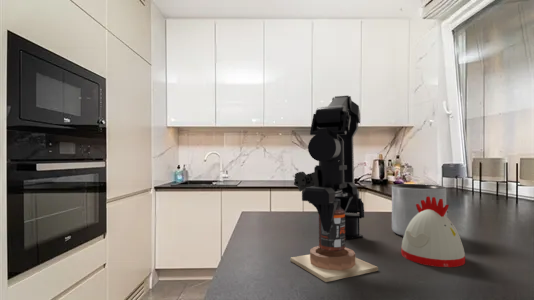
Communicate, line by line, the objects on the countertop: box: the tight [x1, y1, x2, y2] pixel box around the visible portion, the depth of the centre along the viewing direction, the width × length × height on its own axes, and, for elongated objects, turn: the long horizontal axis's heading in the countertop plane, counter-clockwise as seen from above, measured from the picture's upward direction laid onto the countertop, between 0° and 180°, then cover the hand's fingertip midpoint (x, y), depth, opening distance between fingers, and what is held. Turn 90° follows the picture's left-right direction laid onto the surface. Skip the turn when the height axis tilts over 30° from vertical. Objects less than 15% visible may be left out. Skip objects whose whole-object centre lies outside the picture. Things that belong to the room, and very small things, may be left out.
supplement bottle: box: [318, 199, 346, 251], centre depth 71 cm, size 6×6×11 cm
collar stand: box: [290, 245, 379, 283], centre depth 70 cm, size 14×14×3 cm
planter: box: [391, 183, 448, 237], centre depth 99 cm, size 16×16×16 cm
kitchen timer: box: [400, 196, 466, 268], centre depth 76 cm, size 14×14×15 cm
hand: (331, 228), depth 70 cm, fingers closed on supplement bottle, 6 cm apart
